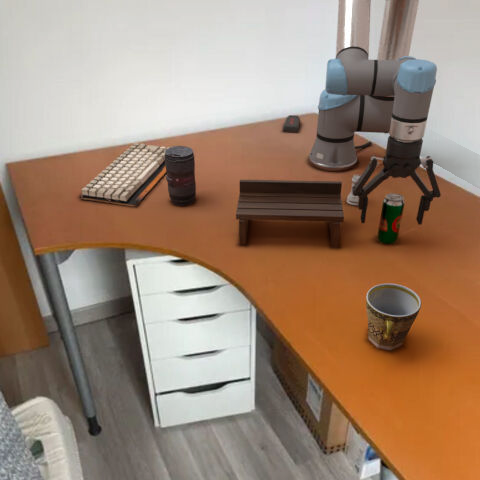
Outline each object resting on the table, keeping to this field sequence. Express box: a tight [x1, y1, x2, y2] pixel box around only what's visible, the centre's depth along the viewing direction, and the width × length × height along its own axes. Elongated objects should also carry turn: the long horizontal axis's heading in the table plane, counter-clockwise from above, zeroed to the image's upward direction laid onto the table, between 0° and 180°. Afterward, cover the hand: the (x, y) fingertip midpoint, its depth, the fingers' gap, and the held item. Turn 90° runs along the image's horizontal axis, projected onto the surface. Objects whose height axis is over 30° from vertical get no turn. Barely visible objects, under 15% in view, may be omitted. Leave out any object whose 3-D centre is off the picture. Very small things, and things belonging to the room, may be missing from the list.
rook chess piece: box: [346, 174, 362, 207], centre depth 146 cm, size 4×4×8 cm
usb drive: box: [282, 114, 301, 133], centre depth 195 cm, size 5×12×3 cm, turn 169°
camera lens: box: [165, 145, 197, 207], centre depth 146 cm, size 8×8×15 cm
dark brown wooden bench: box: [235, 179, 345, 249], centre depth 133 cm, size 14×26×12 cm, turn 85°
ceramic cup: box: [365, 283, 422, 351], centre depth 100 cm, size 13×10×10 cm
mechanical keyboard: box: [79, 142, 171, 208], centre depth 164 cm, size 38×19×3 cm, turn 164°
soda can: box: [376, 192, 406, 245], centre depth 129 cm, size 5×5×12 cm
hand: (390, 221), depth 129 cm, fingers open, 13 cm apart
